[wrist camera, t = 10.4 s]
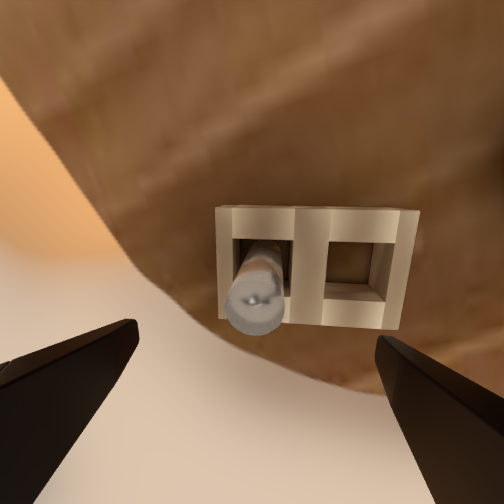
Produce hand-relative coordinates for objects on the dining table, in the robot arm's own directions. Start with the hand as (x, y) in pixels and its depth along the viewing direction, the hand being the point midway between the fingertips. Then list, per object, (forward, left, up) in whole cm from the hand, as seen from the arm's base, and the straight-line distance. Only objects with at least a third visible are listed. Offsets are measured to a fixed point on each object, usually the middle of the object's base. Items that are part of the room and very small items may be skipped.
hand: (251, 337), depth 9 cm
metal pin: (0, 0, -13) cm, 13 cm away
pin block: (-3, 0, -13) cm, 13 cm away
